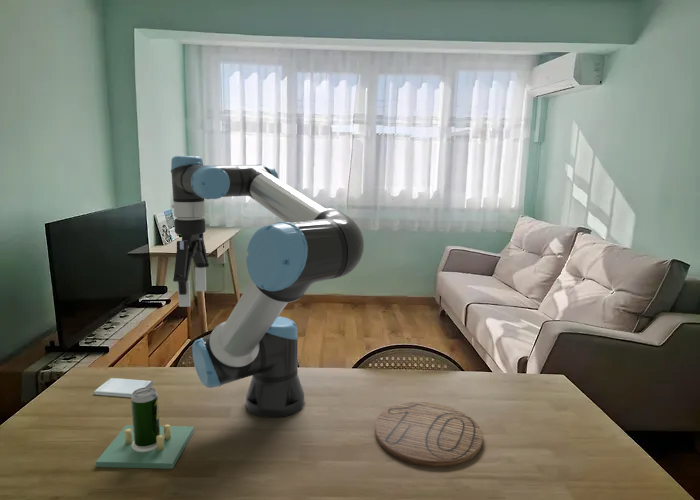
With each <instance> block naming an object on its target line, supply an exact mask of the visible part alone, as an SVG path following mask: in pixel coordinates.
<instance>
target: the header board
mask: <svg viewBox="0 0 700 500" xmlns="http://www.w3.org/2000/svg"><path fill="white" fill-rule="evenodd" d="M194 432H195V426H184V425H183V426H181V425H180V426H179V425H171V424H165V425H160V435H158V436H157V437H156V440H157V445H155V446H153V447H151V448H147V449H141V448H138V447H137V446H136V445H135V443H134V431H133V424H126V425H125V426H124V427H123V428H122V430H120V432H119V433H118V434H117V436H115V438H114V439H113V440H112V442H111V443H110V444H109V445H108V446H107V447H106V449H105V450H104V451H102V452H103V453H102V454H101V455H100V456H99V457H98V458H97V460H95V467H96V468H121V469H122V468H124V469H126V468H130V469H132V468H133V469H165V470H166V469H168V470H169V469H170V470H172V469H174V467H175V466H176V464H177V462H178V460H179V458H180V456H181V455H182V453H183V451H184V449H185V448H186V446H187V445H188V443H189V441H190V439H191V437H192V436H193V434H194Z"/></svg>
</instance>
